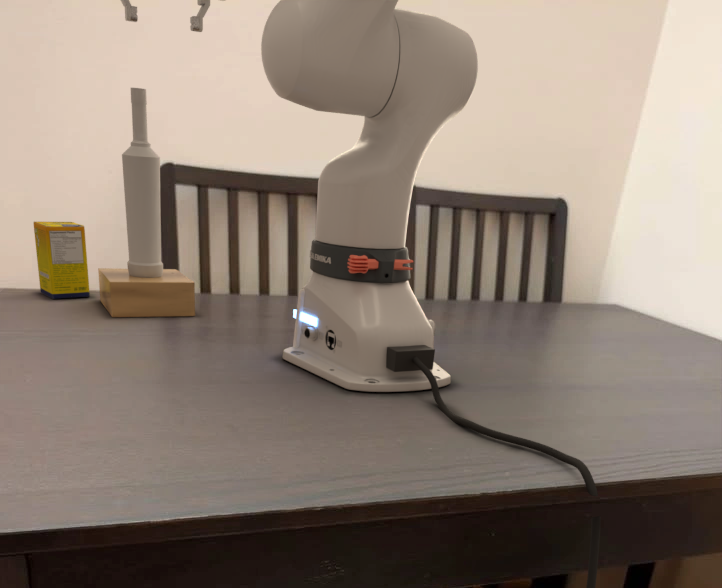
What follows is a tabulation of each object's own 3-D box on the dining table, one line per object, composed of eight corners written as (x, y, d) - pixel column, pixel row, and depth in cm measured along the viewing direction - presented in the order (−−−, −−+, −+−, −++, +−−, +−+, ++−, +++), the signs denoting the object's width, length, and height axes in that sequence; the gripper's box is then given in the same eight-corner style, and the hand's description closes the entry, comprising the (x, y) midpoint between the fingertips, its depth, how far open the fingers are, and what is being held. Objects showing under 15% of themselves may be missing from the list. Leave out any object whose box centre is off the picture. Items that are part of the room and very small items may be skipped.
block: (195, 316, 110) (194, 282, 108) (112, 317, 105) (109, 281, 103) (177, 300, 119) (176, 269, 117) (100, 300, 114) (98, 268, 112)
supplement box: (76, 290, 120) (71, 221, 116) (90, 297, 116) (85, 225, 112) (39, 292, 116) (32, 220, 112) (52, 299, 112) (45, 225, 108)
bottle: (127, 271, 111) (118, 87, 101) (162, 272, 113) (156, 91, 103) (128, 277, 107) (118, 85, 97) (164, 278, 109) (158, 89, 98)
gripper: (85, -113, 94) (92, 11, 100) (238, -79, 103) (237, 34, 109) (79, -101, 99) (87, 17, 105) (226, -69, 108) (225, 38, 114)
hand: (164, 26), depth 107 cm, fingers open, 8 cm apart
